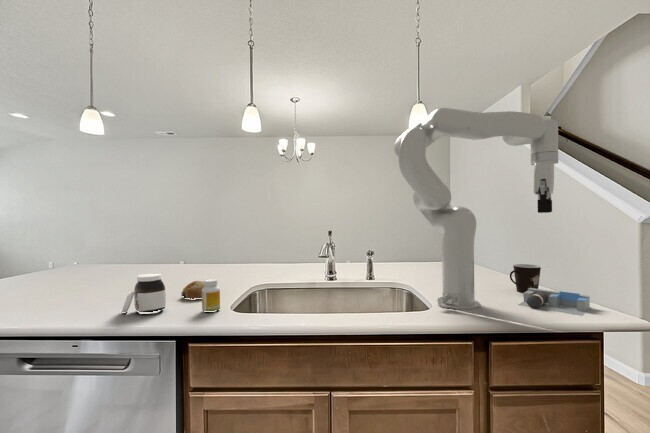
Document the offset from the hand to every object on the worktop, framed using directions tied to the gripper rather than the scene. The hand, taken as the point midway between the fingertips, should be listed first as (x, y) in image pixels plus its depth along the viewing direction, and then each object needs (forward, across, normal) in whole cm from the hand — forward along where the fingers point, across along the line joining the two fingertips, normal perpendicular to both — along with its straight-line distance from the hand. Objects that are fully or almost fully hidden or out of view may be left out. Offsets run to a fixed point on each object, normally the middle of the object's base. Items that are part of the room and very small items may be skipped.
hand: (545, 212), depth 111 cm
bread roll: (+29, +59, -104) cm, 123 cm away
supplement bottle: (+29, +67, -84) cm, 111 cm away
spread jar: (+29, +80, -101) cm, 132 cm away
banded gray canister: (+29, +8, -2) cm, 30 cm away
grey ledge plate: (+29, +5, +2) cm, 30 cm away
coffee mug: (+30, -11, -8) cm, 32 cm away
